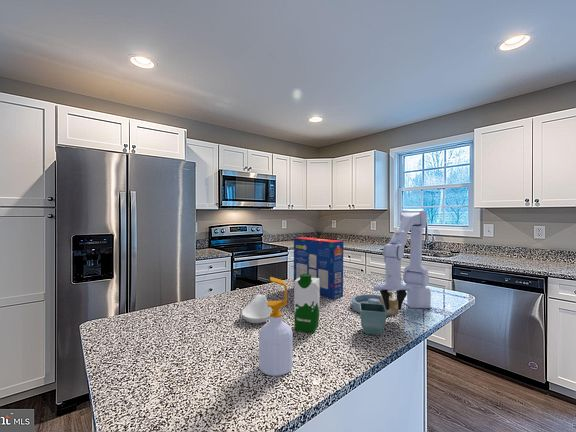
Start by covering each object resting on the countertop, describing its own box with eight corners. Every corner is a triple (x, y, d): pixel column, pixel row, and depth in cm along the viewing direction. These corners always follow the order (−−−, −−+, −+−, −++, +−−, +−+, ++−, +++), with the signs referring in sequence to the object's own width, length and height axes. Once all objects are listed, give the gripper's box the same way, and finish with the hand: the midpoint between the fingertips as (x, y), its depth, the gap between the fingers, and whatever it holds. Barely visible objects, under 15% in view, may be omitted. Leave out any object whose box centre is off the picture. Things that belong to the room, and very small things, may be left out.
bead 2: (390, 300, 141) (390, 290, 141) (393, 303, 137) (393, 292, 137) (382, 300, 141) (382, 290, 141) (384, 303, 137) (384, 292, 137)
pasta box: (343, 296, 147) (343, 241, 147) (332, 299, 142) (333, 242, 141) (303, 285, 168) (304, 237, 168) (293, 288, 163) (293, 237, 162)
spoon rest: (270, 327, 108) (270, 308, 108) (238, 327, 109) (238, 307, 109) (275, 306, 132) (275, 290, 132) (249, 306, 132) (249, 290, 132)
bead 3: (396, 311, 117) (397, 298, 116) (399, 314, 113) (399, 302, 112) (386, 310, 117) (386, 298, 117) (388, 314, 113) (388, 301, 113)
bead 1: (383, 306, 129) (383, 295, 129) (392, 308, 126) (392, 297, 126) (379, 308, 126) (379, 297, 126) (388, 311, 123) (388, 299, 123)
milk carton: (291, 331, 104) (291, 275, 104) (299, 322, 113) (299, 270, 113) (315, 334, 101) (316, 277, 101) (321, 325, 110) (321, 272, 110)
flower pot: (386, 338, 99) (387, 312, 99) (359, 336, 101) (360, 310, 100) (383, 328, 107) (384, 304, 107) (359, 326, 109) (359, 302, 109)
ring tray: (389, 301, 140) (389, 293, 140) (405, 316, 120) (405, 307, 120) (347, 300, 140) (347, 293, 140) (356, 315, 120) (356, 307, 120)
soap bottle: (259, 359, 84) (259, 274, 84) (290, 358, 85) (291, 274, 85) (258, 377, 75) (259, 282, 75) (294, 376, 76) (294, 281, 76)
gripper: (377, 276, 111) (377, 312, 111) (416, 277, 110) (415, 312, 111) (372, 272, 118) (372, 306, 118) (408, 272, 118) (408, 306, 118)
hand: (392, 309), depth 115 cm, fingers closed on bead 3, 4 cm apart
